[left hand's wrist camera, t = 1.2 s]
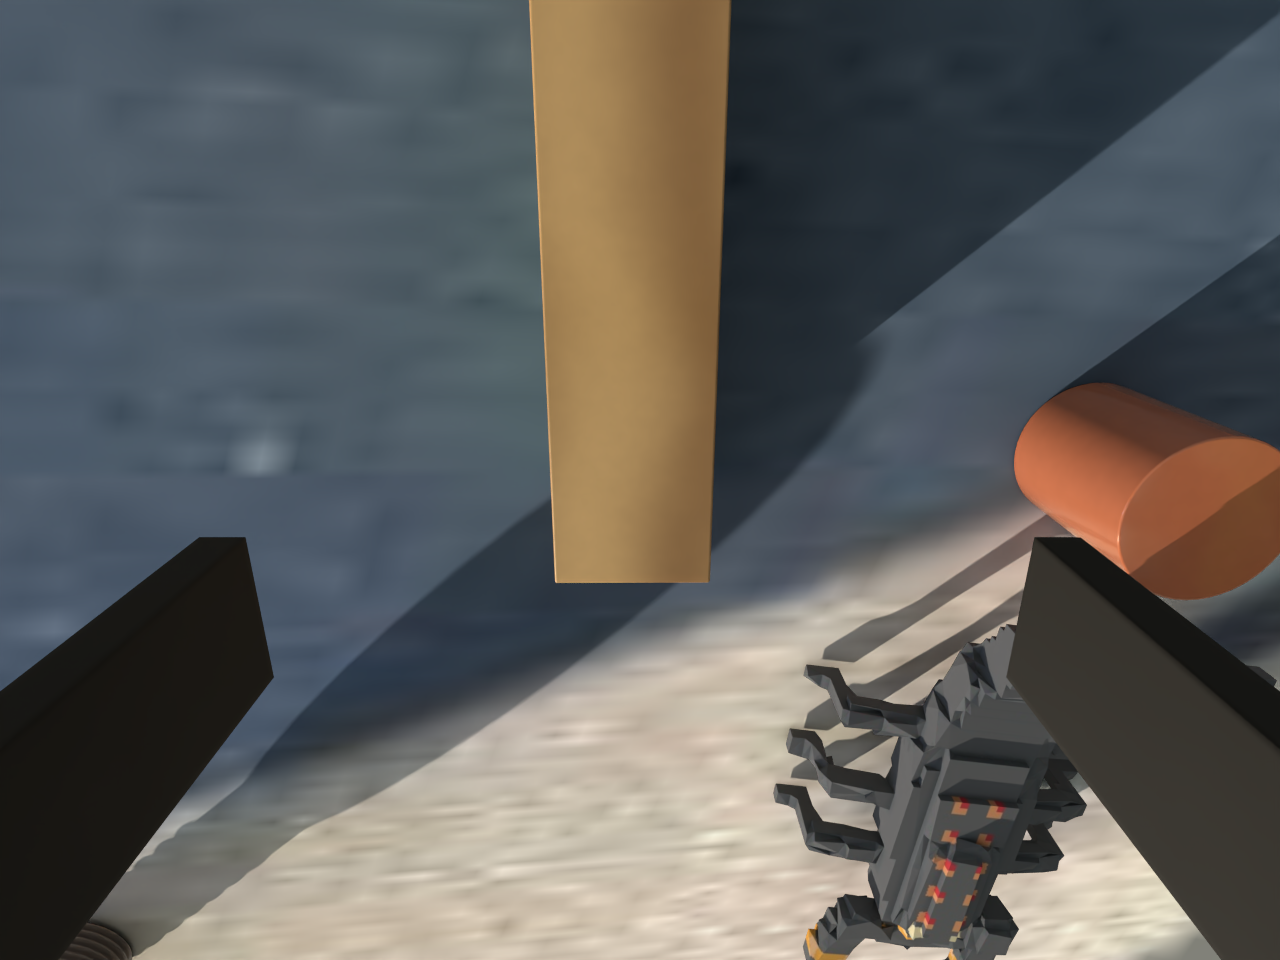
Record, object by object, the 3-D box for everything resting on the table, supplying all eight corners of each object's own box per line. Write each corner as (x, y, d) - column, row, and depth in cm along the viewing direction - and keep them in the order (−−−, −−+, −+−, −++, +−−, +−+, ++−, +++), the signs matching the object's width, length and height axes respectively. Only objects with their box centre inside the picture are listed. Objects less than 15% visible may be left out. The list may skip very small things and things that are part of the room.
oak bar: (577, 475, 30) (554, 583, 22) (549, -396, 21) (493, -790, 13) (688, 475, 30) (710, 583, 22) (710, -395, 21) (761, -787, 13)
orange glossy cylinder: (1002, 515, 31) (1100, 601, 24) (1027, 382, 29) (1141, 436, 22) (1137, 515, 31) (1272, 600, 25) (1171, 381, 29) (1328, 436, 23)
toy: (1173, 516, 31) (1844, 917, 14) (979, 971, 40) (1236, 1548, 23) (855, 475, 30) (1145, 844, 13) (733, 948, 39) (809, 1525, 22)
